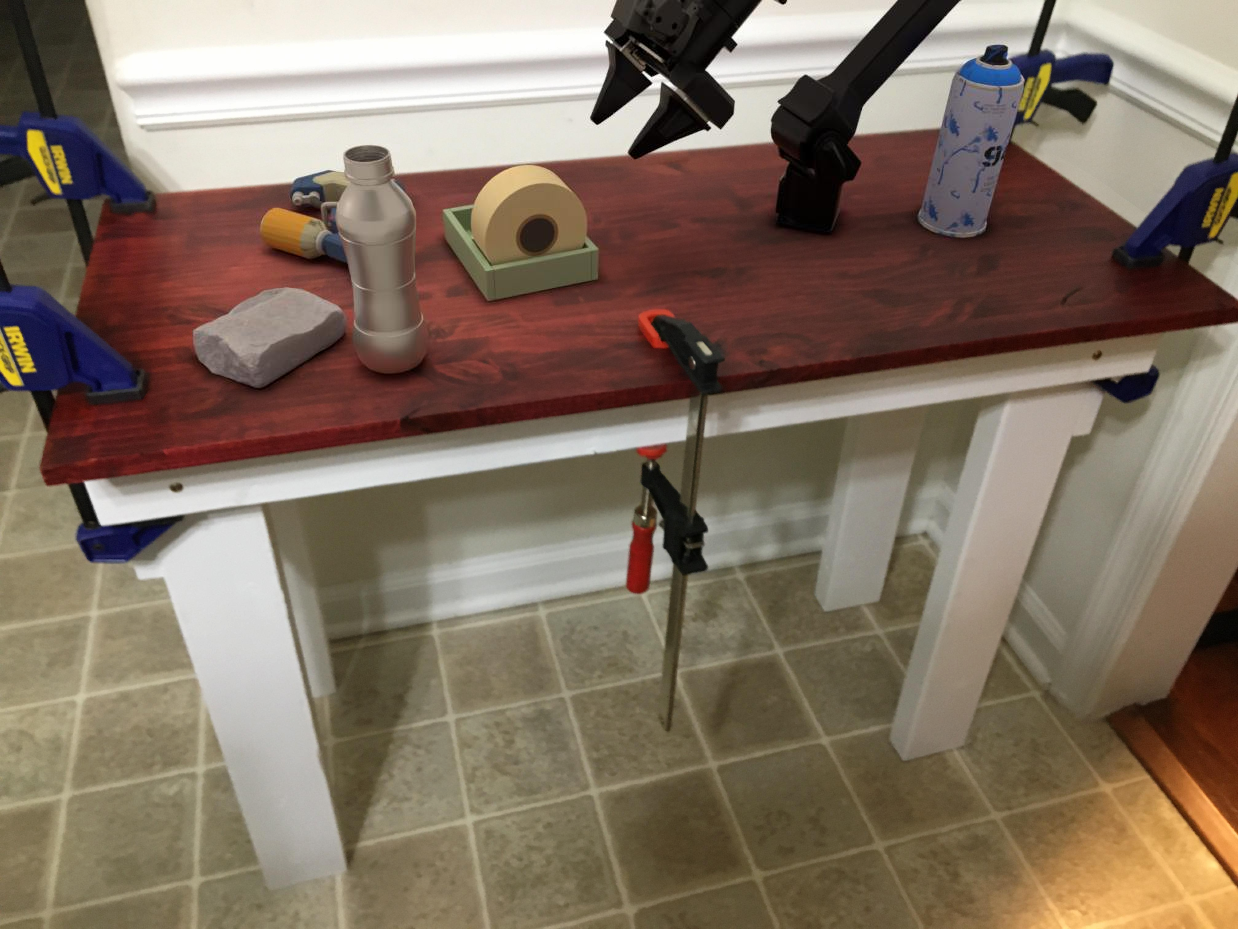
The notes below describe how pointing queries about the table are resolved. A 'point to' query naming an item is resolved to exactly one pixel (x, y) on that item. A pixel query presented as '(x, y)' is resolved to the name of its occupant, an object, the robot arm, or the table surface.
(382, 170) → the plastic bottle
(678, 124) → the robot arm
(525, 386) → the table surface
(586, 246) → the green divided tray
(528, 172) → the masking tape roll
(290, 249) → the spray gun
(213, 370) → the stone block
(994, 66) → the aerosol can
